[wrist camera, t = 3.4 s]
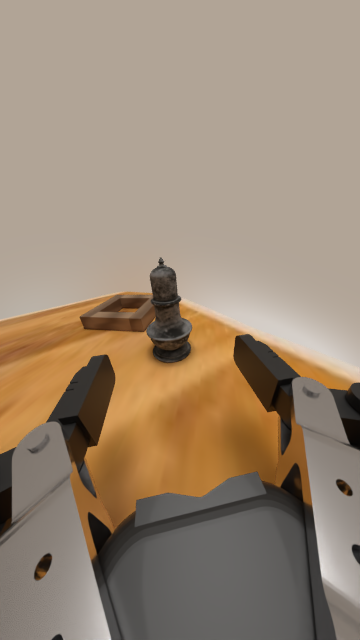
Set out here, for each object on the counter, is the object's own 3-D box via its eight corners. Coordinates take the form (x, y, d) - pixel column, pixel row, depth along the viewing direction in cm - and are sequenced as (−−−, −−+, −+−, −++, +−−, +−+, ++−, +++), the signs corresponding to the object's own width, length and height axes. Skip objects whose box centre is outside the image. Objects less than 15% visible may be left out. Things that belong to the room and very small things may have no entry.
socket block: (84, 328, 29) (79, 316, 27) (119, 304, 39) (116, 294, 38) (143, 331, 26) (141, 318, 25) (164, 304, 36) (162, 294, 35)
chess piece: (168, 333, 25) (157, 254, 19) (200, 343, 22) (199, 253, 16) (141, 354, 21) (119, 261, 15) (177, 370, 18) (165, 261, 12)
